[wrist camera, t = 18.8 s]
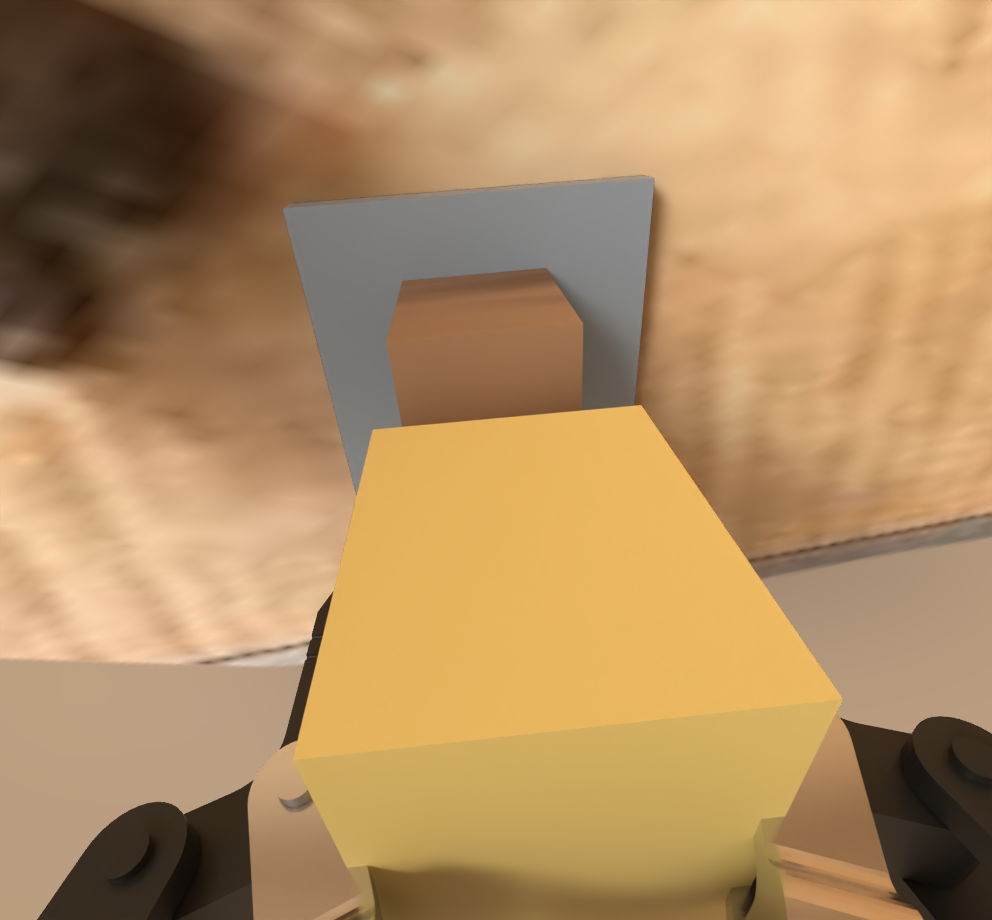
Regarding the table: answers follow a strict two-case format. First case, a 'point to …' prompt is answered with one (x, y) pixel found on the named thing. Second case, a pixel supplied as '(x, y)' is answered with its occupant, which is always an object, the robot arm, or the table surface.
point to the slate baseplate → (466, 251)
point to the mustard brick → (551, 679)
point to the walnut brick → (485, 348)
